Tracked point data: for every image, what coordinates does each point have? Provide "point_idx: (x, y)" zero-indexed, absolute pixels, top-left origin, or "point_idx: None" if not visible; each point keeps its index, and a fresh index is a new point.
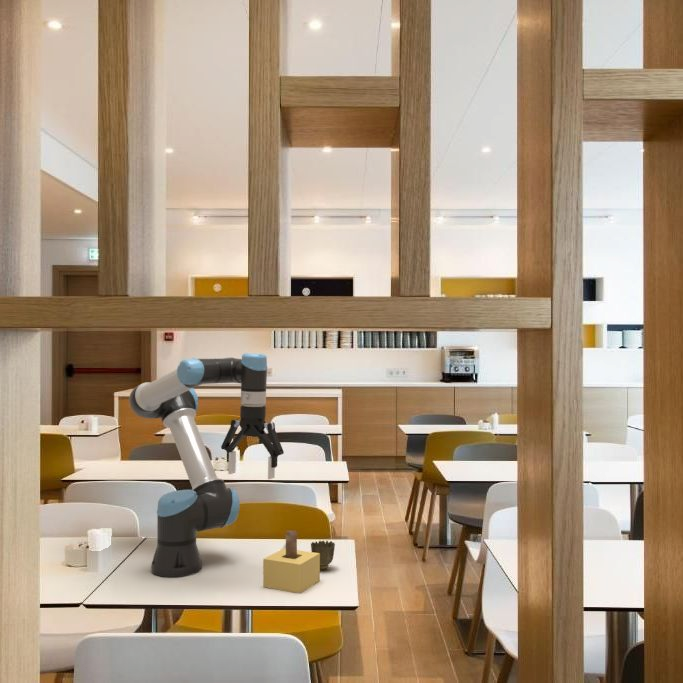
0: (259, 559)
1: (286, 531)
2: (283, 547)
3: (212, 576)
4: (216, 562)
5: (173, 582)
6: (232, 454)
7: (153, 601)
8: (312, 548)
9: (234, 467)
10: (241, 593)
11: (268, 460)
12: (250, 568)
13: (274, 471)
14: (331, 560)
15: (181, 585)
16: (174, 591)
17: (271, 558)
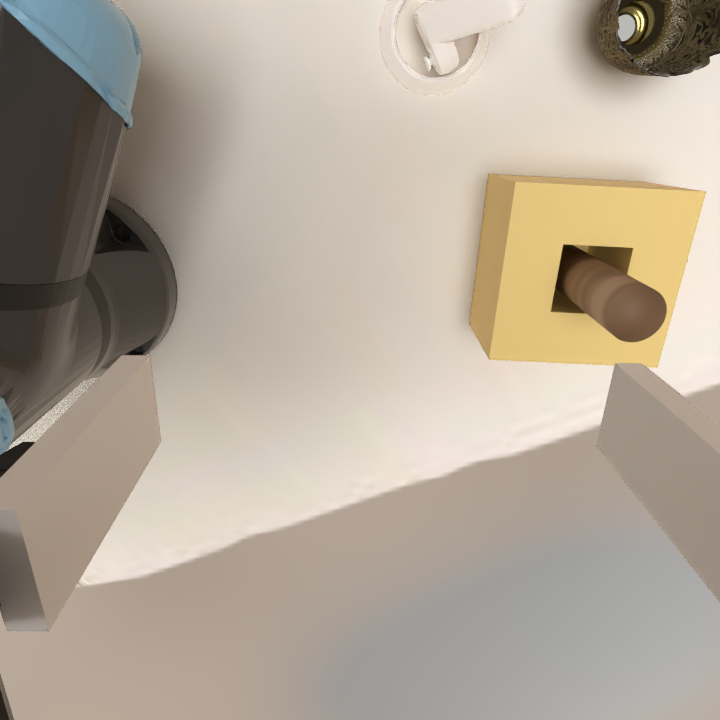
0: (294, 6)
1: (609, 317)
2: (449, 38)
3: (250, 295)
4: (152, 135)
5: (174, 393)
6: (58, 569)
7: (236, 529)
8: (628, 61)
9: (130, 402)
10: (429, 398)
11: (713, 590)
12: (325, 151)
13: (678, 397)
14: (692, 25)
15: (216, 406)
16: (234, 454)
17: (518, 342)
